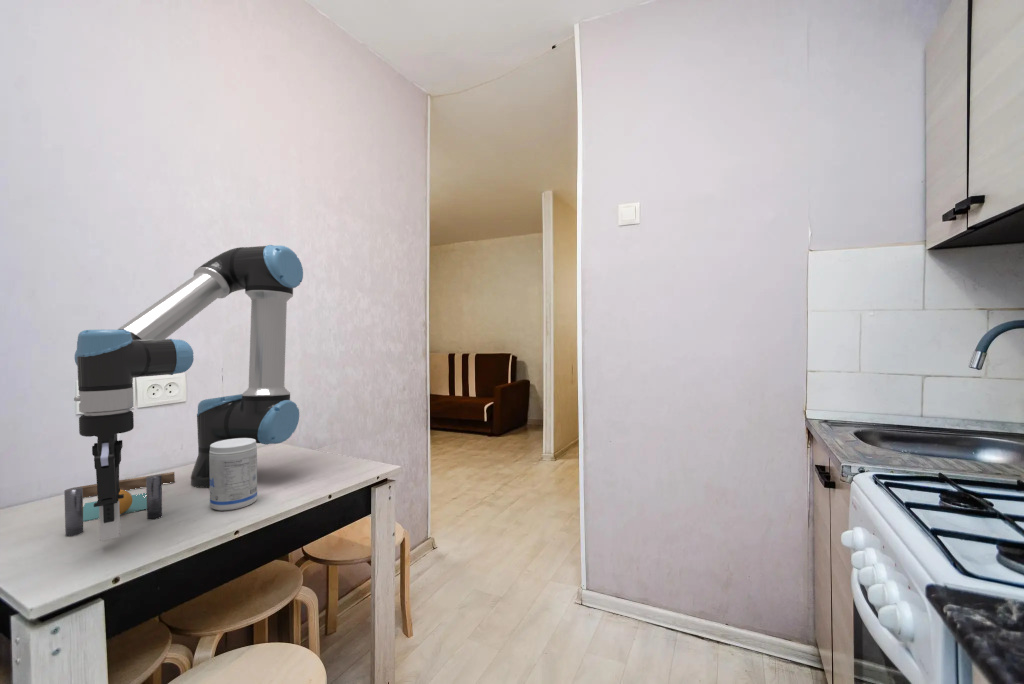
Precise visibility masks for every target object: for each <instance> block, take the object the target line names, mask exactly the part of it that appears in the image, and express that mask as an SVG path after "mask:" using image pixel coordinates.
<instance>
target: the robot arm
mask: <svg viewBox="0 0 1024 684" xmlns="http://www.w3.org/2000/svg"><path fill="white" fill-rule="evenodd" d="M303 279H304V270H303V264H302V262H301V260H300V258H299V257H298V255H297V254H296V253H295V251H293V249H291V248H289V247H287V246H285V245H273V244H269V245H259V246H246V247H245V246H244V247H243V246H241V247H233V248H231V249H229V250H227V251H224V252H222V253H220V254H218V255H216V256H214V257H213V258H210V259H209V260H208V261H206V262H204V263H203V264H202V265H200V266H198V268H196V269H195V270H194V272H193V276H192V277H191V278H189V279H188V280H186V281H185V282H184V283H182V284H181V285H179V286H178V287H176V288H175V289H173V290H172V291H170V292H169V293H167V294H165V296H163V297H162V298H160V299H158V301H156V302H154V303H153V304H151V305H150V306H149V307H148V308H146V309H144V310H143V311H142V312H140V313H139V314H137V315H136V316H134V317H132V319H130V320H129V321H127V322H126V323H124V324H123V325H121V326H120V327H118V328H117V329H84V330H82V331H80V332H79V333H78V335H77V341H76V350H75V353H74V362H75V365H76V366H77V385H78V395H76V396H74V398H73V401H75V402H79V403H78V412H79V413H82V414H81V415H80V416H79V417H78V430H79V431H78V433H79V435H80V436H82V437H88V438H90V437H91V438H92V437H97V439H96V440H97V442H95V443H94V444H93V445H92V446H91V447H92V448H91V452H92V453H91V454H92V456H93V457H94V458H93V462H94V463H93V466H94V470H95V474H96V475H95V478H96V484H97V495H98V496H97V502H96V501H95V502H96V503H94V507H98V506H99V519H98V521H99V522H98V523H99V541H106V540H109V539H114V538H119V537H120V536H121V518H120V509H119V500H118V499H121V498H124V494H121V495H119V492H120V488H119V480H120V464H121V461H122V449H123V446H124V445H123V439H120V440H119V439H118V434H125V433H128V432H130V431H132V430H133V429H134V427H135V425H134V412H133V411H132V410H130V409H133V407H134V387H133V386H134V384H133V382H134V378H140V377H141V378H142V377H155V376H167V375H169V376H174V375H176V374H182V373H185V372H187V371H188V370H190V368H191V367H192V366H193V363H194V360H195V359H194V358H195V357H194V350H193V347H192V346H191V344H190V343H188V342H187V341H185V340H183V339H174V338H173V339H172V338H168V337H170V336H171V335H173V334H174V333H175V332H176V331H177V330H179V329H180V328H181V327H183V326H184V325H185V324H186V323H188V322H189V321H190V320H191V319H193V318H194V317H196V316H197V315H198V314H199V313H201V311H202V312H203V310H205V309H206V308H207V307H208V306H210V305H211V304H213V302H215V301H216V300H217V299H225V298H226V297H228V296H229V295H230V294H232V293H234V292H238V291H243V290H244V294H246V295H247V296H248V298H250V301H251V304H250V306H251V307H250V308H251V309H250V331H249V333H250V334H249V336H250V337H249V339H250V340H249V362H248V363H249V364H248V367H249V368H248V388H247V389H246V390H245V391H244V392H243V393H240V394H234V395H226V396H220V397H219V396H218V397H214V398H208V399H207V398H206V399H203V400H200V401H199V402H198V404H197V413H196V424H197V426H196V427H197V443H198V445H197V446H198V447H197V448H198V452H197V453H198V454H197V457H196V461H195V462H194V466H193V469H192V471H191V475H190V486H192V485H193V486H192V487H195V486H196V488H210V469H209V453H210V452H209V451H210V445H211V444H212V443H215V442H218V441H222V440H227V439H235V438H252V439H255V440H256V444H261V445H264V446H265V445H267V446H268V445H271V444H272V445H276V444H282V443H284V442H285V441H287V440H289V439H290V438H291V437H292V435H293V434H294V433H295V432H296V430H297V427H298V424H299V421H300V409H299V407H298V405H297V403H296V402H294V401H292V400H291V392H289V390H288V389H287V388H286V387H285V378H286V377H285V376H286V375H285V374H286V345H287V344H286V341H287V340H286V339H287V338H286V336H287V312H288V311H287V310H288V309H287V307H288V303H287V302H288V301H289V300H290V299H292V298H293V296H294V289H296V288H297V287H298V286H300V285H301V283H302V282H303Z"/></svg>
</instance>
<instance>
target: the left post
mask: <svg viewBox="0 0 1024 684" xmlns="http://www.w3.org/2000/svg"><path fill="white" fill-rule="evenodd" d="M63 493H64V525H65V526H64V527H65V529H64V530H65V532H64V534H65V537H66V538H67V537H74V536H78V535H81V534H82V533H84V522H83V507H84V500H83V499H84V498H83V488H82V487H80V486H75V488H74V487H71V488H66V489H65V490H64V492H63Z"/></svg>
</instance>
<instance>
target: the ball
mask: <svg viewBox="0 0 1024 684" xmlns="http://www.w3.org/2000/svg"><path fill="white" fill-rule="evenodd" d="M121 494H124V498H121V499H118V500H119V509H120V514H121V515H123V514H122V513H124V512H125V511H127V510H128V509H129V508H130V506H131V504H132V496H131V495H132V494H131V493H130V491H125V490H120V492H119V495H121Z"/></svg>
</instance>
